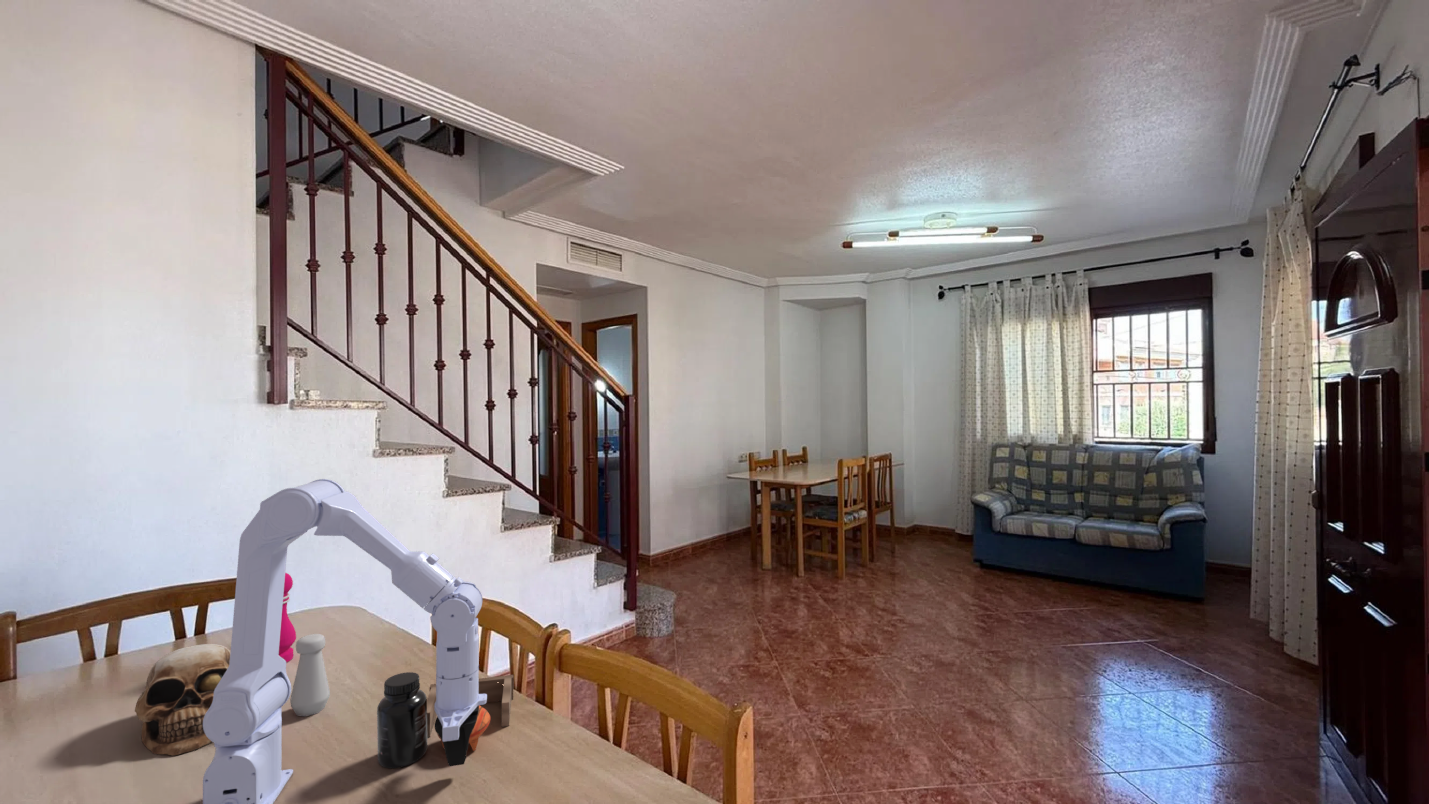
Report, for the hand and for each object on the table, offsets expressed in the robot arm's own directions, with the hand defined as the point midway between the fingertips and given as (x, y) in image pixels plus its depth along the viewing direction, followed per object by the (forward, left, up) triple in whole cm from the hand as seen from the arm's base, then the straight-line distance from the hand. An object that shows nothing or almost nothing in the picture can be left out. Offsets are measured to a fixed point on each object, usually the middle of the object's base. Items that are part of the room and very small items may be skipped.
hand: (457, 762), depth 87 cm
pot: (+8, 0, -2) cm, 8 cm away
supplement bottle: (+7, +9, -2) cm, 12 cm away
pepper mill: (+50, +41, -2) cm, 65 cm away
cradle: (+17, 0, -2) cm, 17 cm away
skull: (+26, +44, -2) cm, 52 cm away
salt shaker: (+26, +27, -2) cm, 38 cm away
